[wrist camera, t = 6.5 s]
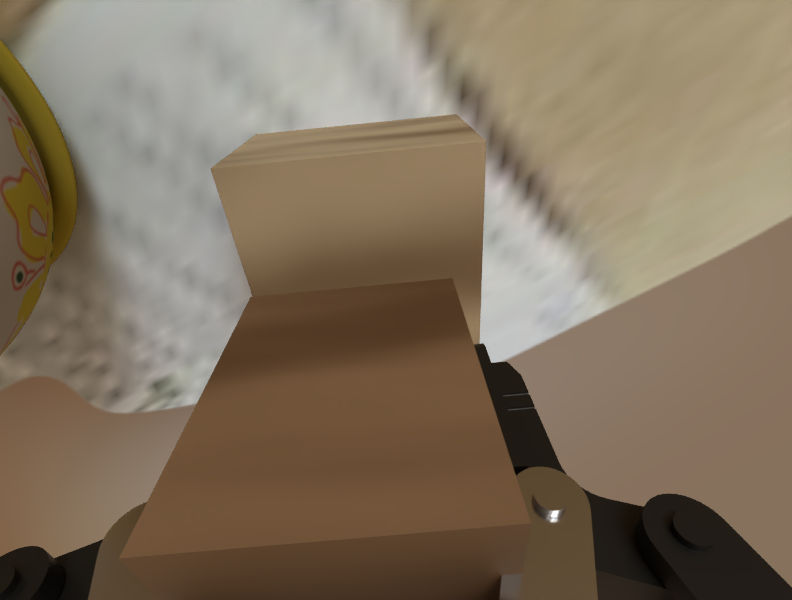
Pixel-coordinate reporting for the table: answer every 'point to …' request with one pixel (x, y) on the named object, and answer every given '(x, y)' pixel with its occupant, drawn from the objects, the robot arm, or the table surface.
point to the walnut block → (338, 460)
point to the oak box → (360, 207)
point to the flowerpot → (29, 195)
